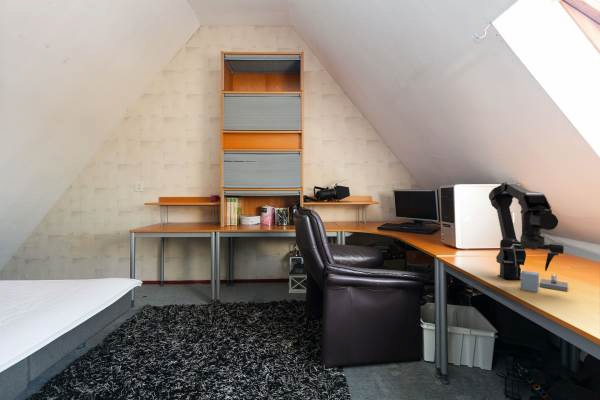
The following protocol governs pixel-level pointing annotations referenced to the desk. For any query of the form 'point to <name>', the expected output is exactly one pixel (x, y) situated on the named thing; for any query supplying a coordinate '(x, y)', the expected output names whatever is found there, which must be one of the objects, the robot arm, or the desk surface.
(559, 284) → the base plate
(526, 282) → the pale blue cube
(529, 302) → the desk surface
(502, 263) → the robot arm
